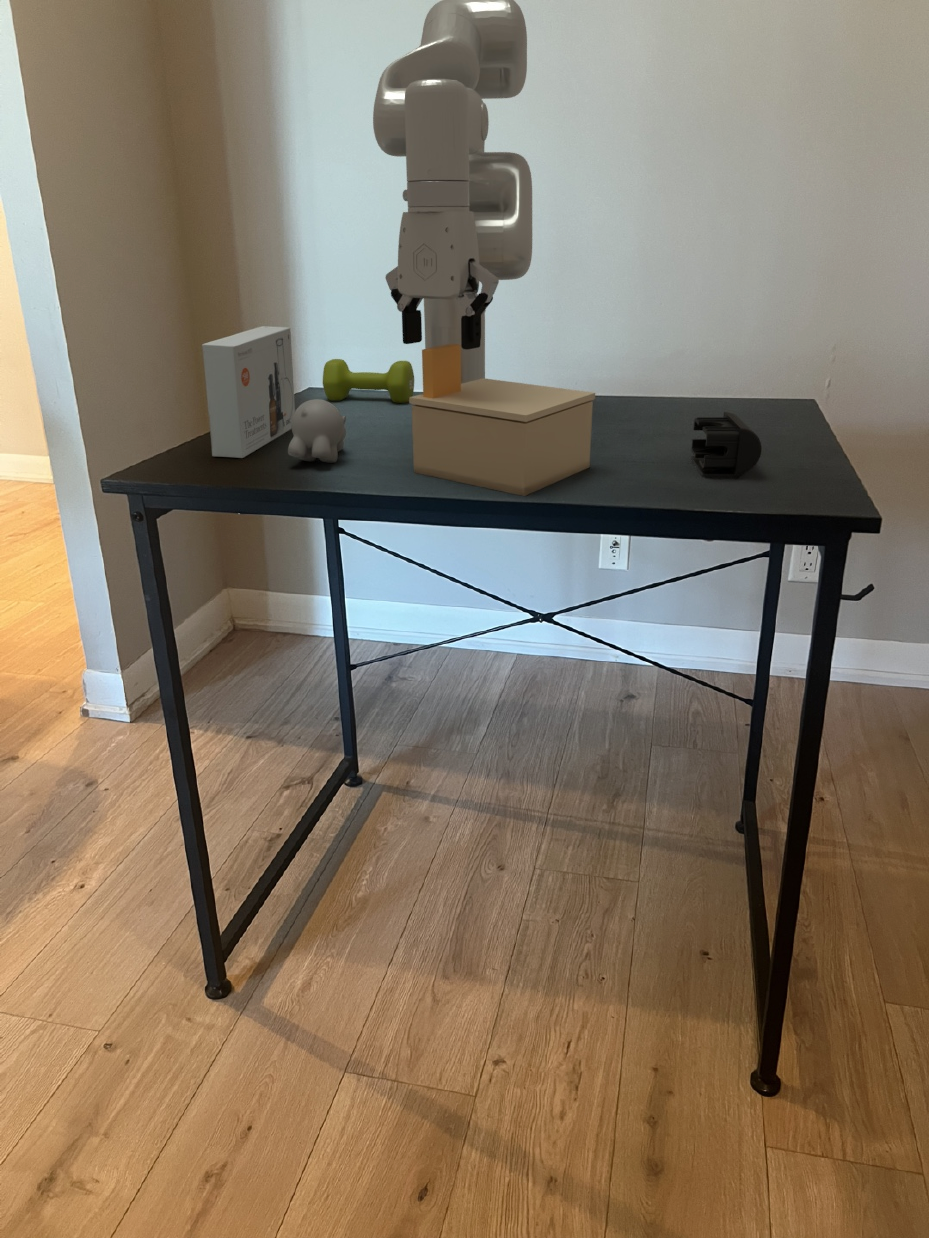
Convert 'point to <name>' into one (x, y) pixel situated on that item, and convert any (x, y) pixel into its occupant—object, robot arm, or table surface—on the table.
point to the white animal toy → (317, 431)
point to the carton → (501, 447)
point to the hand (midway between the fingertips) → (441, 345)
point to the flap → (487, 391)
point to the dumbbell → (368, 380)
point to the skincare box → (249, 389)
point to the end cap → (725, 447)
